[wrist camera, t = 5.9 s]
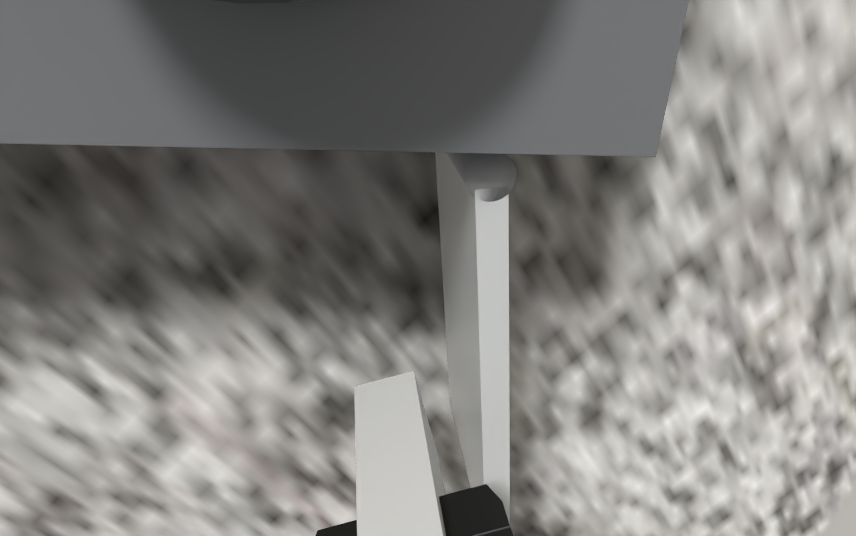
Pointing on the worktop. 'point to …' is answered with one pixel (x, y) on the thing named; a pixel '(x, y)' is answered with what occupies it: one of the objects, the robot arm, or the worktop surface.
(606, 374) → the worktop surface
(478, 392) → the side door
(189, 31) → the camera body
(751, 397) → the worktop surface
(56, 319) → the worktop surface
